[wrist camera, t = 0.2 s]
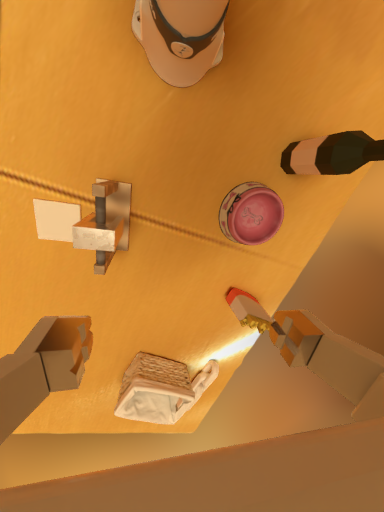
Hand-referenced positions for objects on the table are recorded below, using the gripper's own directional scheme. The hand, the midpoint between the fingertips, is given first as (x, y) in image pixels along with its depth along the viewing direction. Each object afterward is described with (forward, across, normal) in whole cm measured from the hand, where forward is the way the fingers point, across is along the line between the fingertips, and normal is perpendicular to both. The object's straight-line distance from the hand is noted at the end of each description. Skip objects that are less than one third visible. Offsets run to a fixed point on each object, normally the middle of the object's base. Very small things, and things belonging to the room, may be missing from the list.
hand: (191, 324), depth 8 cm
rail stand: (+47, +12, +6) cm, 49 cm away
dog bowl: (+48, -26, +2) cm, 55 cm away
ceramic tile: (+47, +25, +8) cm, 54 cm away
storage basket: (+48, -2, +67) cm, 82 cm away
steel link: (+40, +12, +6) cm, 42 cm away
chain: (+48, -20, +78) cm, 93 cm away
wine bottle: (+47, -36, -14) cm, 61 cm away
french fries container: (+48, -30, +32) cm, 64 cm away
